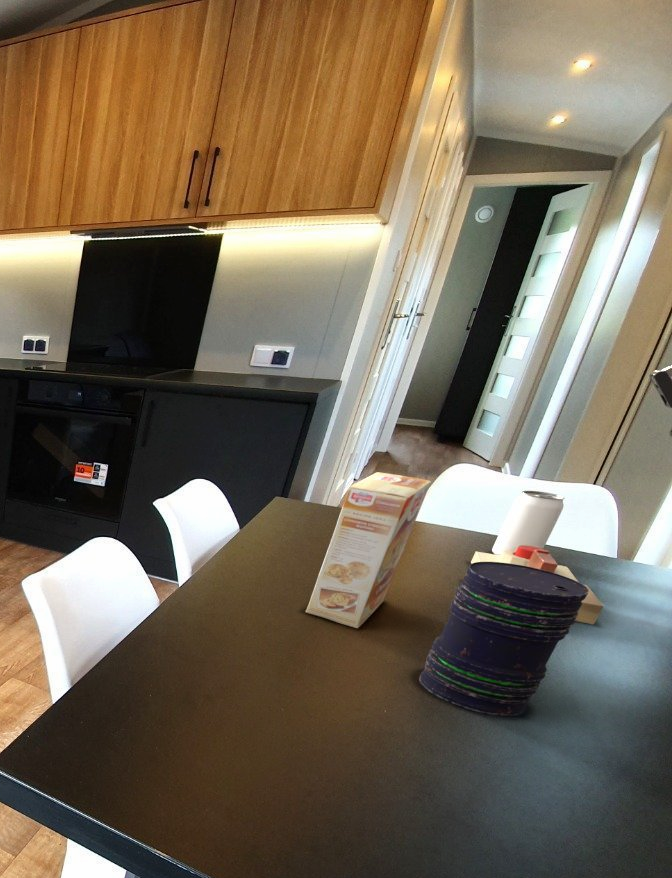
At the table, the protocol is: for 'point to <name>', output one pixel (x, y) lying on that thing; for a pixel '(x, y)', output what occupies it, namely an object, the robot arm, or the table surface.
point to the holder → (542, 561)
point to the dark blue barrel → (501, 636)
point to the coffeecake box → (366, 547)
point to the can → (529, 521)
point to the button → (525, 551)
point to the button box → (516, 561)
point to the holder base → (589, 608)
